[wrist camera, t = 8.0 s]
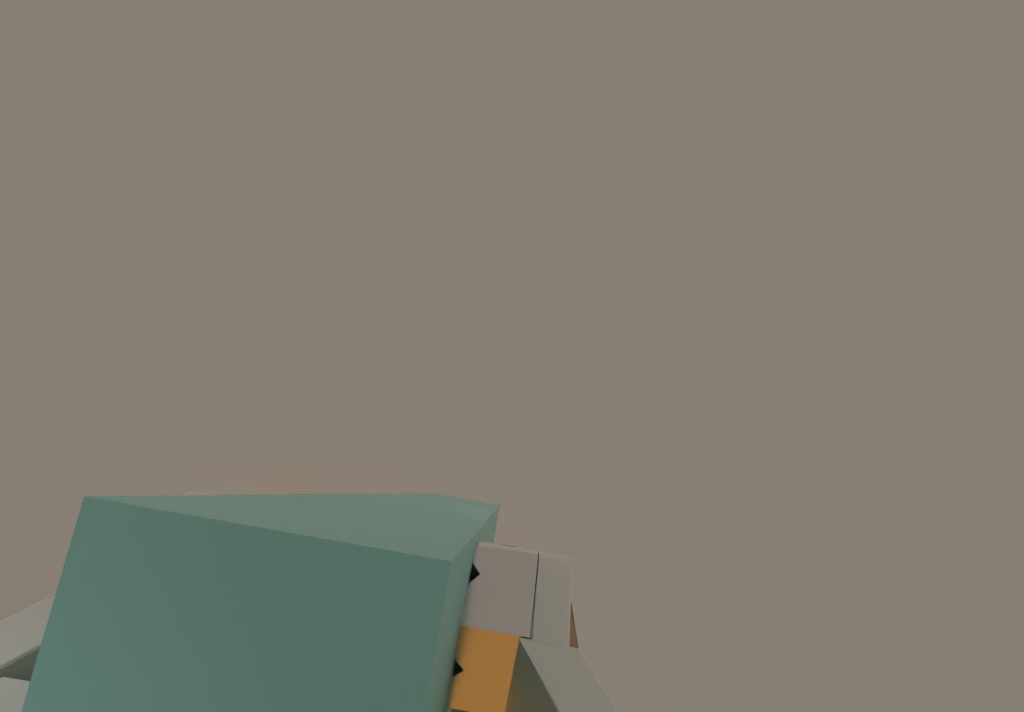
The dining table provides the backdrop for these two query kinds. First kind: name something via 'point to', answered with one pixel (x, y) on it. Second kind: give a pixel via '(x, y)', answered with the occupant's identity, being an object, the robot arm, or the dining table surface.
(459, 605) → the teal rod
